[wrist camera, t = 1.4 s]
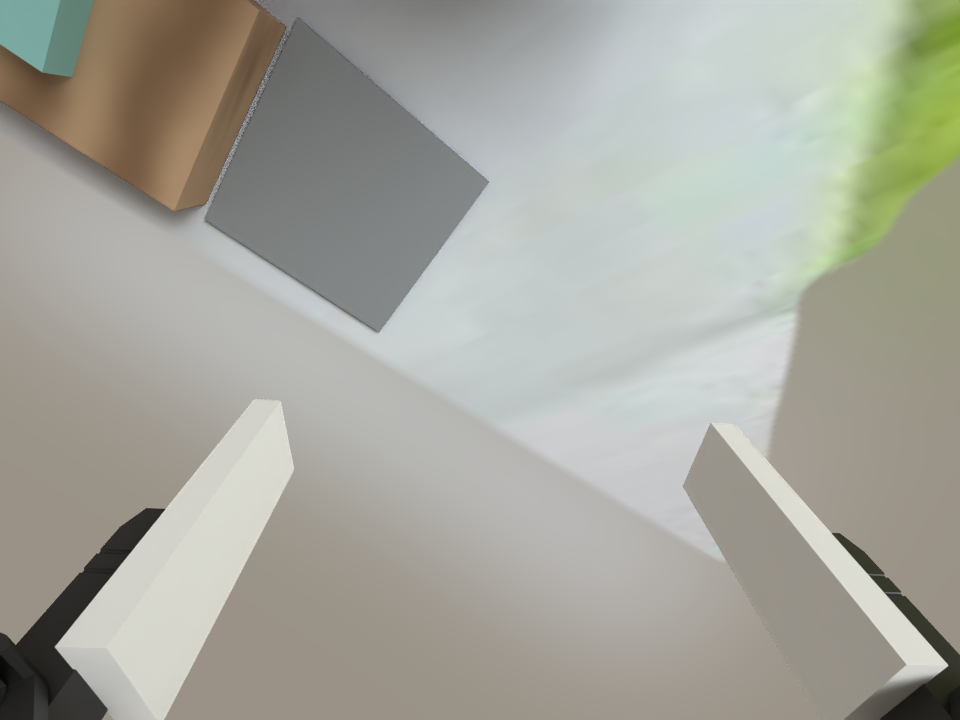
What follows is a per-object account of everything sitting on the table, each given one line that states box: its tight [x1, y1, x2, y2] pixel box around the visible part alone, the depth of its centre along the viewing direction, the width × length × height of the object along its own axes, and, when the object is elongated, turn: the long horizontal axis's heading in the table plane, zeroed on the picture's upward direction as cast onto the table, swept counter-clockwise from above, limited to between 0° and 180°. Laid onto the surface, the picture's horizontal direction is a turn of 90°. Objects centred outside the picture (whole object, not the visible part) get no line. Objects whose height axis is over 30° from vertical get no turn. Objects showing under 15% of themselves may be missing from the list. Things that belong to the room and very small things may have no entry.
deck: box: [0, 0, 286, 211], centre depth 25 cm, size 20×14×4 cm
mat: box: [205, 18, 489, 332], centre depth 32 cm, size 16×16×1 cm
